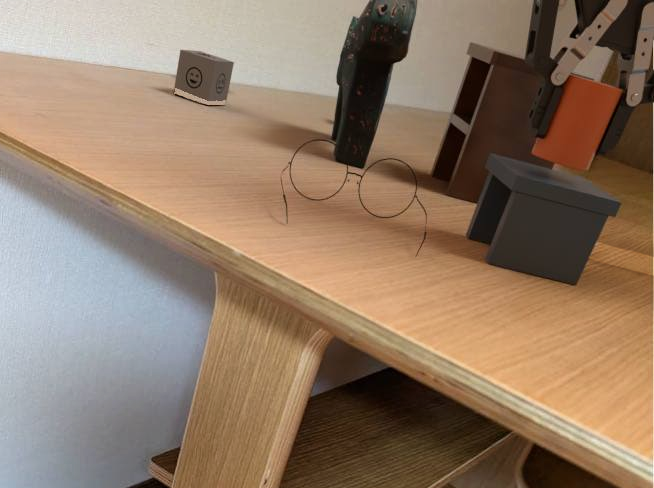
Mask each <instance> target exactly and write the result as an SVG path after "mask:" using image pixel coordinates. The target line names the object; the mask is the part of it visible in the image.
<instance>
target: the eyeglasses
mask: <svg viewBox="0 0 654 488" xmlns="http://www.w3.org/2000/svg"><path fill="white" fill-rule="evenodd" d="M317 141H320V142H321V141H323V142H327V143H330V144H332V145H333V146H334V147H335V146H337V145H336V144H335V142H334V141H330V140H328V139H322V138H320V139H319V138H318V139H317V138H316V139H311V140H309V141H307V142H305V143H303V144H302V145H301V146H299V147H298V148H297V150H296V151H295V152H294V154H293V156H292V157H291V161H288V163H287V166H285V168H284V169H282V171H281V174H280V176H282V174H283V172H285V171H286V169H287V168H288V167H289V178H290V182H291V184H292V186H293V188H294V189H295V191H296V192H297V193H298V194H299V195H300V196H302V197H303V198H306V199H308V200H310V201H317V202H318V201H319V202H320V201H325V200H328V199H330V198H333V197H334V196H335V195H337V194H338V193H339V192H340V191H341V190H342V188H343V187H344V185H345V184H346V182H347V183H349V182H350V180H351V179H350V178H349V179H348V174H349V175H354V176H357V177H360V180H359V181H357V182H356V185H358V190H357V191H358V198H359V201H360V204H361V205H362V207H363V209H364V210H365V211H366V212H367V213H369V214H370V215H372V216H373V217H376V218H380V219H390V218H394V217H397V216H399V215H401V214H403V213H405V212H406V210H408V209H409V208H410V206H411V205H412V203H413V202H414V200H415V198H416V201H417V202H418V204H419V205H420V206H421V208H422V209H423V211H424V214H425V223H427V222H428V220H427V219H428V215H427V214H428V213H427V210H426V208H425V207H424V206H423V204H422V203H421V201H420V200H419V198H418V195H417V191H418V181H417V177H416V174H415V172H414V169H412V167H411V166H410V165H409V164H408V163H406V161H403V160H401V159H398V158H395V157H394V158H393V157H388V158H387V157H386V158H383V159H380V160H379V159H378V160H376V161H375V162H373V163H371V165H369V166H368V167H367V168H366V169H365V171H364V172H363V173H362V174H360V173H356V172H351V171H349V165H348V163H347V159H346V157H345V154H344V153H343V151H342V150H341V149H340V148H339V147H338V146H337V147H338V148H339V149H340V151H341V152H342V153H343V155H344V157H345V160H346V164H345V165H346V174H345V178H344V181H343V183H342V184H341V186H340V188H339V189H338V190H337V191H335V193H333V194H332V195H330V196H328V197H325V198H320V199H318V198H317V199H316V198H311V197H308V196H306V195H304V194H302V193H301V192H300V191H299V190H298V189H297V187H296V186H295V184H294V182H293V179H292V173H291V171H292V169H291V168H292V163H293V160H294V158H295V156H296V154H298V152H299V150H300V149H301V148H303V147H304V146H305V145H307V144H309V143H313V142H317ZM387 160H391V161H392V160H393V161H398V162H400V163H403V164H404V165H405V166H407V167H408V168H409V169H410V171H411V172H412V174H413V176H414V180H415V191H414V195H413V197H412V200H411V201H410V203H409V204H408V206H407V207H405V208H404V210H402V211H401V212H399V213H397V214H394V215H391V216H380V215H376V214H375V213H372V212H370V211H369V210H368V209H367V208H366V206H365V205H364V204H363V202H362V199H361V193H360V190H361V189H360V188H361V183H362V180H363V178H364V176H365V174H366V173H367V171H368V170H369V169H370V168H371V167H372V166H374V165H376V164H377V163H380V162H382V161H387ZM280 183H281V189H282V197H283V201H284V205H285V212H286V224H288V222H289V221H288V220H289V219H288V218H289V217H288V203H287V198H286V194H285V190H284V186H283V180H282V178H280ZM427 233H428V232H427V227H425V231H424V234H423V240H422V242H421V244H420V246H419V248H418V249H417V252H416V254H415V257H417V256H418V254H419V252H420V250H421V248H422V246H423V244H424V242H425V240H426V237H427Z"/></svg>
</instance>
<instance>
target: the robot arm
mask: <svg viewBox="0 0 654 488" xmlns="http://www.w3.org/2000/svg"><path fill="white" fill-rule="evenodd" d="M567 2H568V0H533V2H532V8H531V13H530V14H531V15H530V21H529V26H528V27H529V29H528V34H527V40H526V46H525V47H526V48H525V54H524V57H525V63H526V65H527V66H529V67H531V68H532V69H533V70H534V71H535V72H536V73H537V74H538V75H539V76H540V85H539V88H538V90H537V93H536V96H535V98H534V101H533V104H532V106H531V108H530V111H529V114H528V116H527V125H528V126H530V130H529V134H530V135H532V136H534V137H537V138H540V139H543V138H544V137H545V135H546V133H547V130H548V128H549V125H550V123H551V120H552V118H553V115H554V113H555V110H556V108H557V105H558V103H559V100H560V98H561V95H562V93H563V90H564V89H563V88H560V87H561V85H562V84H563V83H564V82H565V80H566V79H567V78H568V76H569V75H570V74H571V73H572V71H573V72H574V70H575V69H576V67H577V66H578V65H579V64H580V62H581V61H583V60H584V59H585V58H586V57H587V56H588V55H589V54H590V52H591V51H592V50H593V49H594V47H599V48H607V49H608V50H610V51H613V52H615V53H617V59H616V69H617V79H616V85H615V87H617V88H620V89H623V92H622V94H621V96H620V99H619V101H618V103H617V105H616V108H615V110H614V112H613V114H612V117H611V119H610V121H609V123H608V126H607V128H606V130H605V133H604V135H603V137H602V139H601V142H600V144H599V146H598V148H597V151H596V153H595V155H599V156H602V157H604V156H606V155H607V153H608V151H609V150H611V151H613V150H614V148H616V147H617V145H618V144H619V142H620V140H621V138H622V135H623V133H624V130H625V129H626V127H627V124H628V122H629V120H630V118H631V116H632V113H633V111H634V110H635V109H636V108H637V107H638V106H640V105H644V104H652V103H653V104H654V69H652V70H651V73H650V74H649V75H648V76H647V78H646V75H647V72H648V71H649V69H650V66H651V58H652V53H653V45H654V0H574V6H575V13H576V19H577V20H576V21H575V23H574V24H573V26H572V27H571V28H570V29H569V31H568V33H567V34H566V36H564V38H563V39H562V41H561V42H560V43H559V47H558V49H557V51H556V52H555V53H554V54H553V56H552V57H551V54H552V53H551V52H552V47H553V42H554V35H555V28H556V23H557V18H558V12H560V11H562V10H563V9H564V8H565V7H566V5H567Z"/></svg>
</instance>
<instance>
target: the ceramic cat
mask: <svg viewBox="0 0 654 488" xmlns="http://www.w3.org/2000/svg"><path fill="white" fill-rule="evenodd" d="M417 7H418V0H368V3H366V6H365V8H364V9H363V11H362V12H361V14H360V15H359V16H358V17H357V16H355V15H353V16H352V19H351V20H350V24H349V26H348V28H347V32H346V33H347V34H346V36H345V39H344V42H343V46H342V49H341V52H340V55H339V62H338V66H337V70H336V77H335V78H336V79H335V80H336V85H337V86H338V91H337V97H336V104H335V110H334V117H333V118H334V120H333V126H332V130H331V131H332V132H331V136H330V138H332V139H333V140H332V139H331V140H332V141H334V140H335V141H334V144H336V145H337V146H338V147H339V148H340V149H341V150H342V151H343V153H344V154H345V157H346V159H347V163H348V166H353V167H356V168H360V169H364V168H365V166H366V164H367V161H368V157H369V155H370V151H371V148H372V145H373V143H374V140H375V138H376V134H377V131H378V127H379V124H380V120H381V116H382V113H383V111H384V106H385V103H386V100H387V97H388V92H389V87H390V83H391V80H392V75H393V69H394V65H395V64H397V63H400V62H402V61H403V60H404V59H405V58H406V57H407V55H408V53H409V49H410V42H411V37H412V32H413V27H414V23H415V19H416V14H417V9H418V8H417ZM337 146H335V145H334V149H333V157H334V161H335V162H338V163H341V164H344V165H347V164H346V160H345V157H344V155H343V153H342V152H341V151H340V149H339V148H338V147H337Z"/></svg>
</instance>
